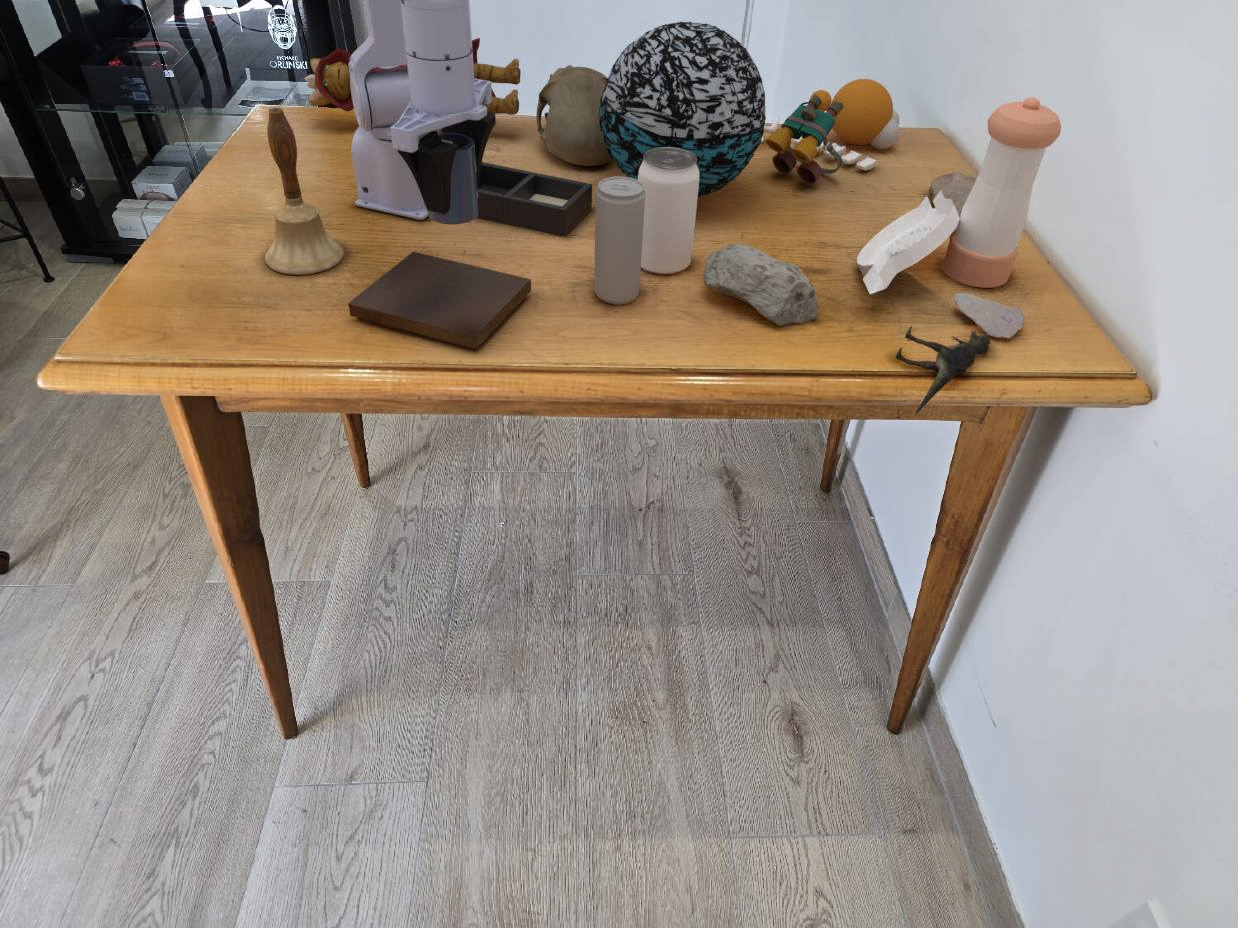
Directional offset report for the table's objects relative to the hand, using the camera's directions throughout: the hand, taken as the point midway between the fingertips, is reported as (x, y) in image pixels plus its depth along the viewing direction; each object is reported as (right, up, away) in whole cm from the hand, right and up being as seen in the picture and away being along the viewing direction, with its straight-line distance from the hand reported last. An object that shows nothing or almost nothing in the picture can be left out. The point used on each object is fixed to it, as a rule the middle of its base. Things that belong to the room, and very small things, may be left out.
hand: (452, 199), depth 85 cm
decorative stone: (+31, -8, +8) cm, 33 cm away
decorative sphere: (+23, +9, +28) cm, 37 cm away
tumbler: (0, -1, +1) cm, 1 cm away
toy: (+42, +23, +42) cm, 64 cm away
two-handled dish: (+49, -1, +13) cm, 50 cm away
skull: (+10, +20, +40) cm, 46 cm away
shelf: (-2, -10, +4) cm, 11 cm away
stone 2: (+54, -11, +7) cm, 56 cm away
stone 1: (+61, +6, +27) cm, 67 cm away
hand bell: (-18, -3, +11) cm, 22 cm away
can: (+21, -3, +14) cm, 25 cm away
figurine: (+3, +26, +39) cm, 47 cm away
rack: (+4, +5, +22) cm, 23 cm away
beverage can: (+16, -8, +8) cm, 19 cm away
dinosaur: (+43, -14, -1) cm, 45 cm away
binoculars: (+40, +13, +33) cm, 54 cm away
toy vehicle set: (+46, +19, +38) cm, 63 cm away
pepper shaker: (+57, -4, +15) cm, 59 cm away
